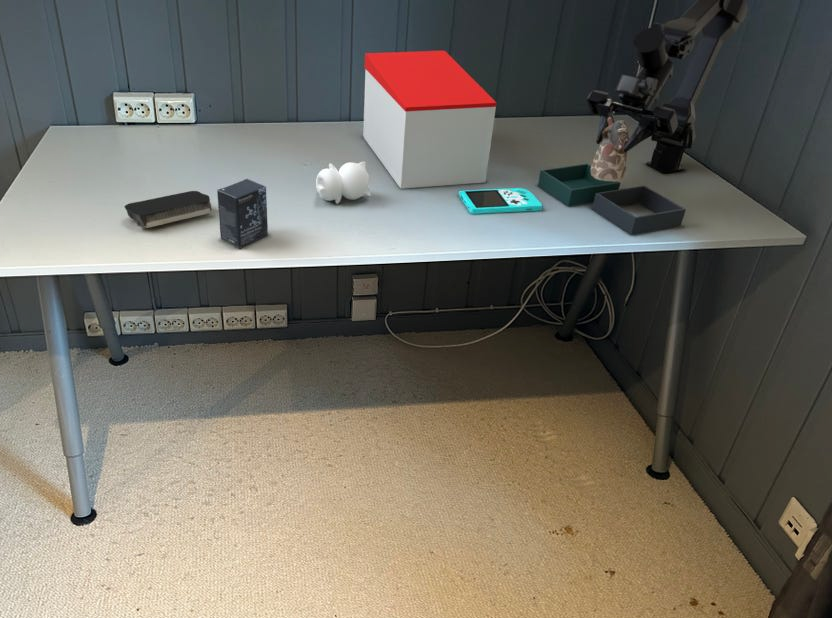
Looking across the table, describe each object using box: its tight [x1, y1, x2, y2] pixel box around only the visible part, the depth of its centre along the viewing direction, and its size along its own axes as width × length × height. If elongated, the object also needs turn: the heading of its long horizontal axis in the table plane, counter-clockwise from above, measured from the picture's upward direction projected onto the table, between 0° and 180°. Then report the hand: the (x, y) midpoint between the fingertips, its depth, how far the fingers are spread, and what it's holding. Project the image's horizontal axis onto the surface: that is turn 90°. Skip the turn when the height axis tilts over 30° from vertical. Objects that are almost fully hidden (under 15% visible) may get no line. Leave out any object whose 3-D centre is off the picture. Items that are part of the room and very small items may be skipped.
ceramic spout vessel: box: [591, 117, 630, 182], centre depth 154 cm, size 7×7×12 cm
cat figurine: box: [315, 160, 372, 205], centre depth 160 cm, size 9×11×12 cm
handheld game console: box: [458, 187, 543, 215], centre depth 160 cm, size 10×16×1 cm, turn 99°
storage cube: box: [362, 50, 497, 190], centre depth 175 cm, size 21×35×21 cm, turn 14°
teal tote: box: [537, 163, 621, 207], centre depth 165 cm, size 13×12×4 cm
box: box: [216, 178, 269, 249], centre depth 141 cm, size 8×6×11 cm
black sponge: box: [123, 190, 213, 229], centre depth 150 cm, size 16×8×4 cm, turn 123°
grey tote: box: [591, 185, 687, 236], centre depth 155 cm, size 13×13×4 cm
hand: (610, 147), depth 153 cm, fingers closed on ceramic spout vessel, 6 cm apart
